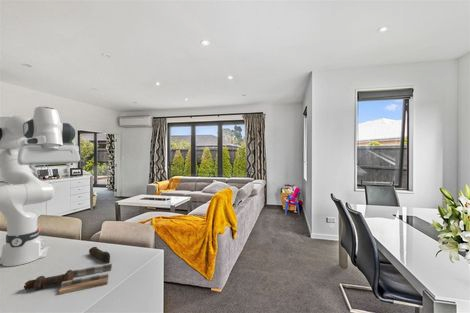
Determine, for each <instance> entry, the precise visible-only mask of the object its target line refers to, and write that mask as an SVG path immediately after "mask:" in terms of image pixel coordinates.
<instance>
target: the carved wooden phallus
mask: <svg viewBox="0 0 470 313" xmlns="http://www.w3.org/2000/svg"><path fill="white" fill-rule="evenodd" d="M88 253H89V255H91V256H95V258H98V259H100V260H101V262H102V263H105V262H106V263H105V264H110V262H111V260H110V259H111V254H110V252H108V251H103V250H102V249H100V248H98V247H97V246H92V247H91V248H89V250H88Z"/></svg>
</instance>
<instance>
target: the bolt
mask: <svg viewBox="0 0 470 313" xmlns="http://www.w3.org/2000/svg"><path fill="white" fill-rule="evenodd" d="M70 280H74V277H73V270H72V269H69V270H66V272H65V273H64V274H63V273H62V274H58V275H53V276H48V277H45V276H44V275H40V276H38V277H37V278H35V279H29V280H28V281H26V282H25V283H24V286H23V289H24V290H26V291H27V290H31V289H32V290H33V289H34V290H36V291H40V290H42V289H43V288H44V287H48V286H54V285H59V284H61V283H62V282H65V281H70Z"/></svg>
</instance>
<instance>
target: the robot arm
mask: <svg viewBox="0 0 470 313" xmlns="http://www.w3.org/2000/svg"><path fill="white" fill-rule="evenodd" d="M3 124H4V125H3V127H0V150H2V151H1V153H0V172H1V177H2V179H3V181H4V182H6V183H7V184H5V185H1V186H0V213H1V214H2V215H3V216H4V218H5V223H6V233H7V234H6V235H5V244H4V245H2V247H1V254H0V265H1V264H2V265H4V266H3V267H15V266H20V265H24V264H29V263H31V262H34V261H36V260H40V259H42V258H45V257H46V256H47V254H48V253H49V250H50V246H47V245H45V240H44V239H43V238H42V236H40V231H41V227H39V228H38V215H37V214H36V213H34V212H31V211H28V210H24V209H23V206H29V205H35V204H41V203H45V202H48V201H51V200H52V199H53V198H54V196H55V194H56V191H55V187H54V186H53V185H52V184H51V183H48V182H46V181H43V180H41V179H39V178H38V177H37V176H40V175H41V170H40V169H37V168H36V167H37V165H61V164H62V165H63V164H65V166H66V168H63V170H62V171H63V174H69V172H70V171H69V170H70V167H71V166H72V164H78V163H79V162H81V156H80V146H79V145H77V144H75V143H73V141H74V139H75V138H76V129H75V128H74V126H72V125H71V124H70V123H67V122H61V118H60V114H59V110H58V109H55V108H54V107H47V106H36V107H35V108H34V111H33V117H32V118H31V117H29V116H24V115H14V116H10V117H8V118H7V119H5V121H4V123H3ZM32 171H33V172H34V174H33V172H32Z"/></svg>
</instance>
